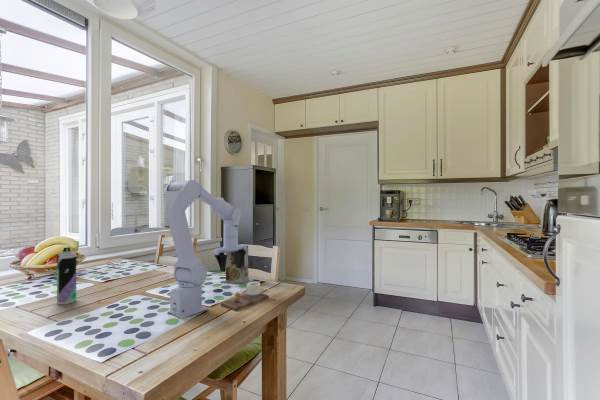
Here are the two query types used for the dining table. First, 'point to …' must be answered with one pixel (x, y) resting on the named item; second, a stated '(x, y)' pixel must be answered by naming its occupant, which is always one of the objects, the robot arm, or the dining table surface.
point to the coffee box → (236, 269)
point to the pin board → (242, 301)
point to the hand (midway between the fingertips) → (230, 269)
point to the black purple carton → (66, 277)
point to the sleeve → (253, 290)
